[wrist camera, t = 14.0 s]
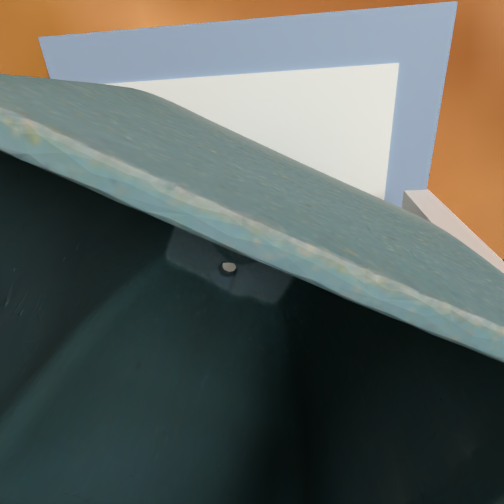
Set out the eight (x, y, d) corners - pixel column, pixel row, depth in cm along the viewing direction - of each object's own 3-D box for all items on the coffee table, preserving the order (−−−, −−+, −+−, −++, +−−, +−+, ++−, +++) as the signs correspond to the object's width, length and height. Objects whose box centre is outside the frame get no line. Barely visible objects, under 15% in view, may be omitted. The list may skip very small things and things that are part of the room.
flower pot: (100, 277, 15) (-107, 539, 7) (160, 45, 11) (-185, 33, 3) (297, 351, 16) (313, 646, 8) (421, 169, 12) (703, 409, 4)
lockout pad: (62, 38, 13) (36, 37, 12) (438, 6, 12) (459, 0, 11) (139, 322, 19) (128, 343, 18) (392, 320, 18) (402, 342, 17)
